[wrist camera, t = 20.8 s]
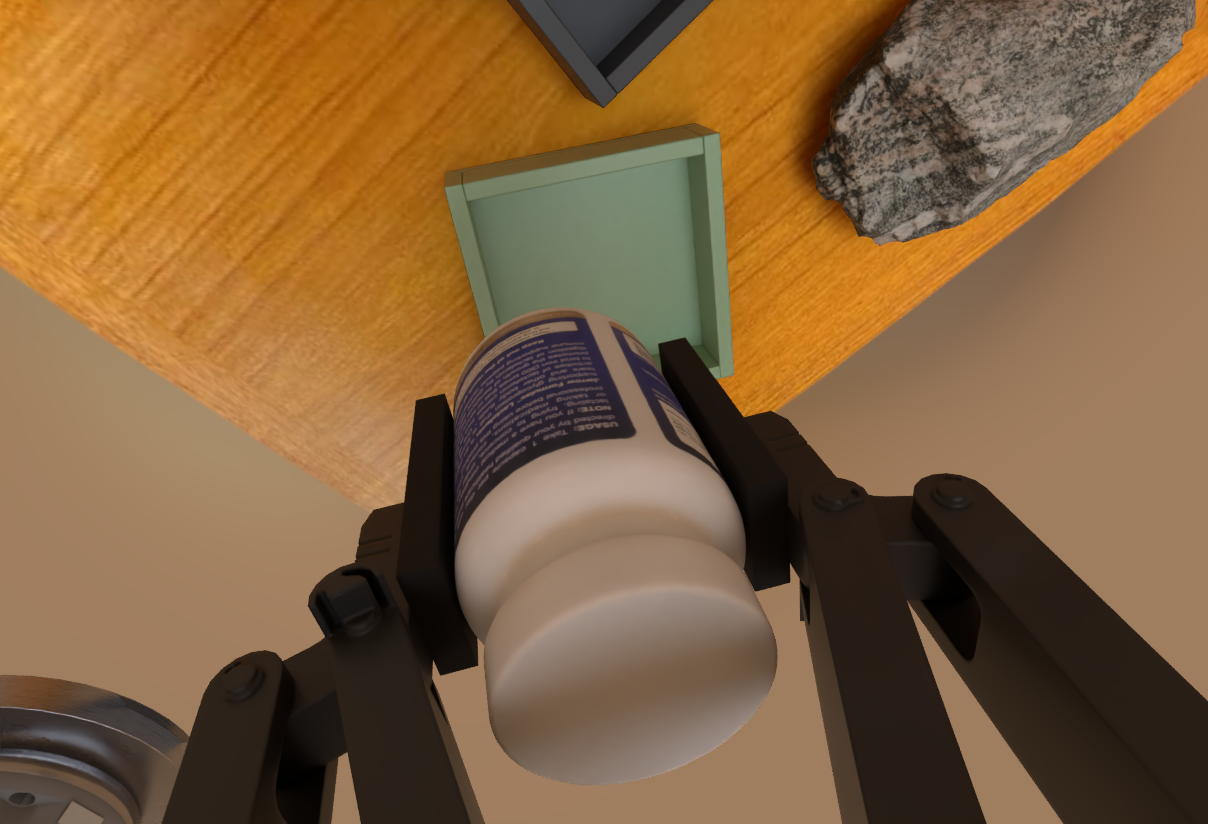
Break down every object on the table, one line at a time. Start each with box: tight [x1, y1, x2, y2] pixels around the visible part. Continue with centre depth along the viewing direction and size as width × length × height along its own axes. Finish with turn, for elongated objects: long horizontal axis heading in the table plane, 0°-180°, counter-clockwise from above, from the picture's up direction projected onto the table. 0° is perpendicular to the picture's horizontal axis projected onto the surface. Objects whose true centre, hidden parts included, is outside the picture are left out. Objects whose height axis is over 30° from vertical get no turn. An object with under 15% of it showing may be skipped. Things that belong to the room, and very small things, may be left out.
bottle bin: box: [444, 123, 734, 379], centre depth 34 cm, size 13×13×4 cm
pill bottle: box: [453, 307, 777, 785], centre depth 15 cm, size 6×6×10 cm
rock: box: [811, 0, 1196, 246], centre depth 32 cm, size 18×10×10 cm
